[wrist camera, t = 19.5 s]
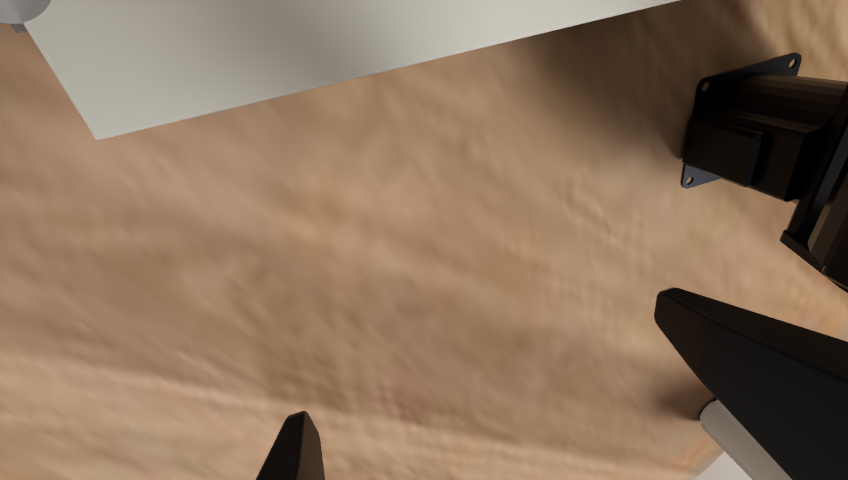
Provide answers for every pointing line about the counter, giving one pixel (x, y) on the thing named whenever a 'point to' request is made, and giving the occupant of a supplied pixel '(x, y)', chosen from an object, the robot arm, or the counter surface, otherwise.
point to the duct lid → (259, 46)
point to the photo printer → (739, 443)
